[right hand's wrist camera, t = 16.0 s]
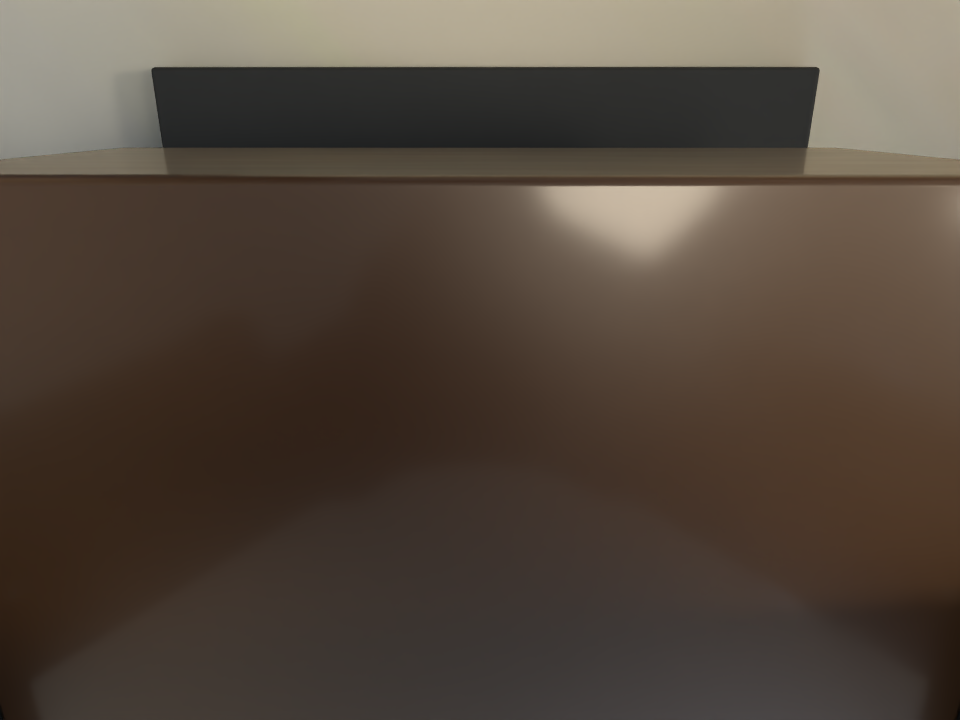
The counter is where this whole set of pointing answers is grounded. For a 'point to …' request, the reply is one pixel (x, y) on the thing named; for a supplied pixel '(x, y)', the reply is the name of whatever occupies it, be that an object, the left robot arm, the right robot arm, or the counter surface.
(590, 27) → the counter surface
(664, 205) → the lid
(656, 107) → the coaster
